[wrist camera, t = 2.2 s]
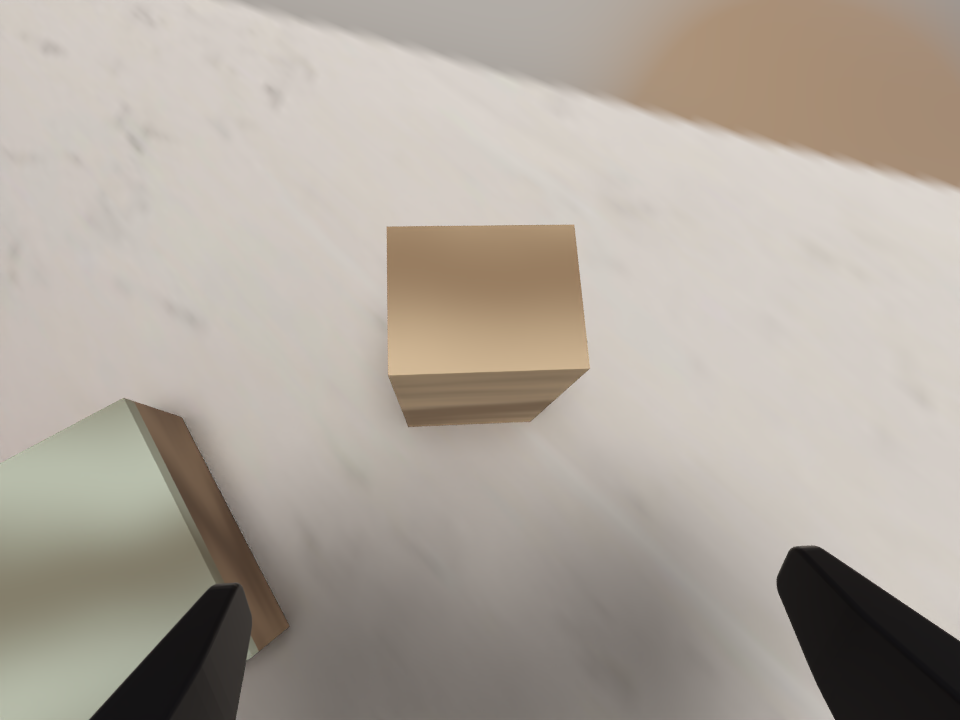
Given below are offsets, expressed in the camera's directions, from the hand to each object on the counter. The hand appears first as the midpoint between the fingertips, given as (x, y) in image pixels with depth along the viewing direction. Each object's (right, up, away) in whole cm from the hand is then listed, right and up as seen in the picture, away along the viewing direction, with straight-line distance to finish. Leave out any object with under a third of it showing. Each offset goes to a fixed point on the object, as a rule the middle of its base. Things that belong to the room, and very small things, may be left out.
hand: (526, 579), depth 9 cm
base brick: (-14, -5, +10) cm, 18 cm away
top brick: (-1, +3, +14) cm, 14 cm away
